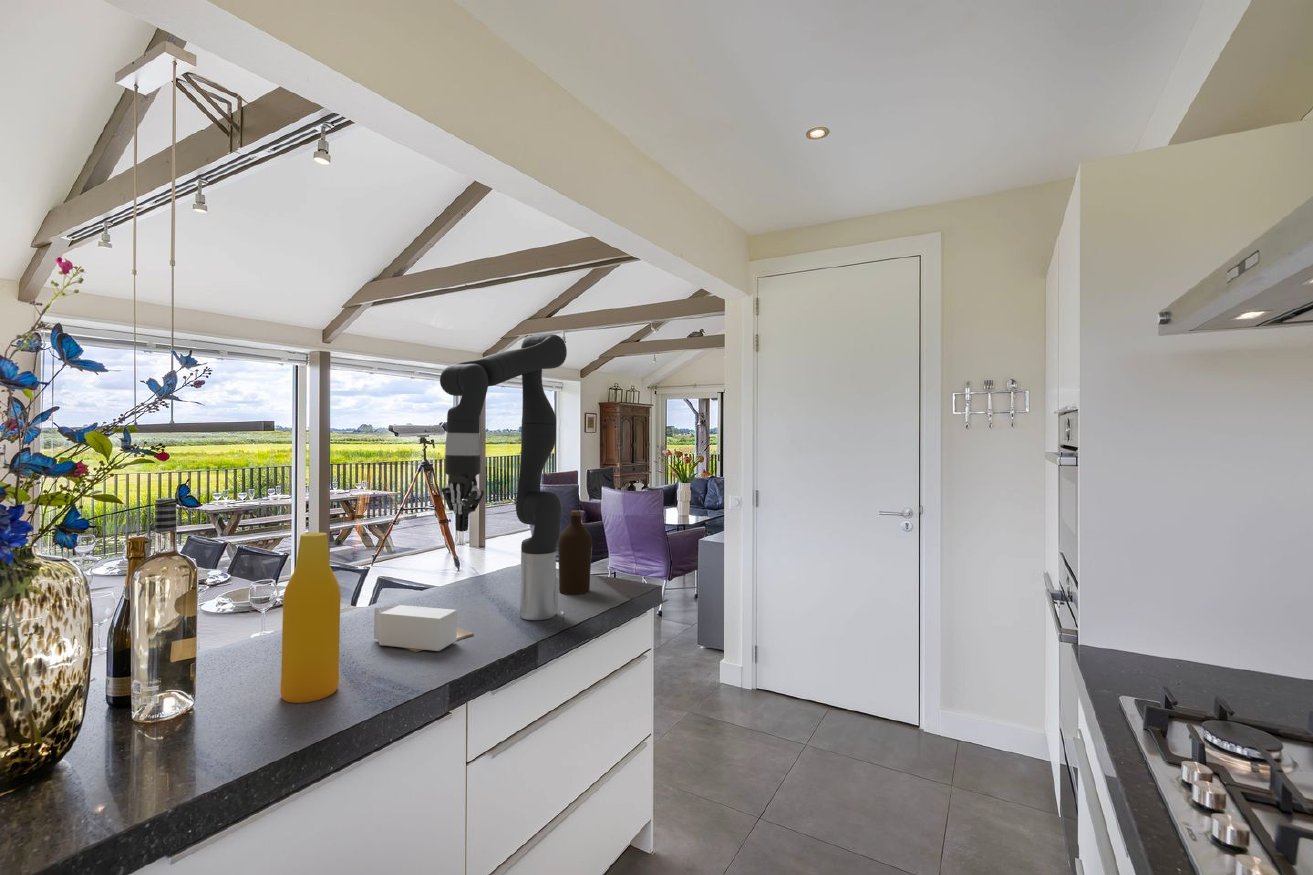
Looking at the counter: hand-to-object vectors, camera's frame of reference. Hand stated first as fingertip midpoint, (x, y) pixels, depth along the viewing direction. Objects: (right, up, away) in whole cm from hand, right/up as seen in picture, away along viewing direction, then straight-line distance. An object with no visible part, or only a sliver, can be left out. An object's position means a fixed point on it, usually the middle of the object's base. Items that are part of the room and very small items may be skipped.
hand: (461, 530), depth 133 cm
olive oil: (+18, -27, +52) cm, 62 cm away
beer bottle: (-20, -26, -24) cm, 41 cm away
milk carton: (-3, -22, 0) cm, 22 cm away
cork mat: (-10, -26, +7) cm, 29 cm away
